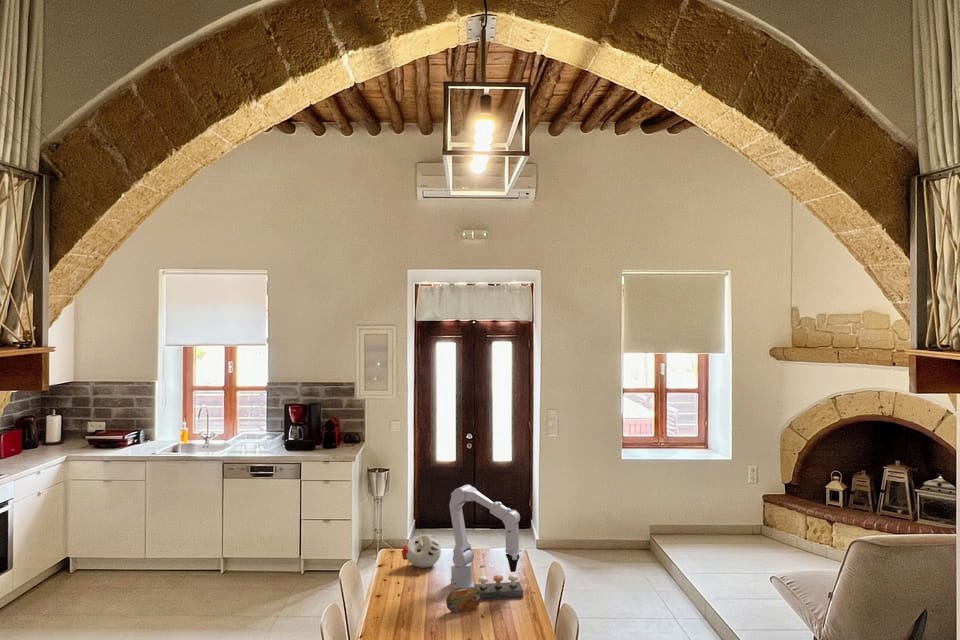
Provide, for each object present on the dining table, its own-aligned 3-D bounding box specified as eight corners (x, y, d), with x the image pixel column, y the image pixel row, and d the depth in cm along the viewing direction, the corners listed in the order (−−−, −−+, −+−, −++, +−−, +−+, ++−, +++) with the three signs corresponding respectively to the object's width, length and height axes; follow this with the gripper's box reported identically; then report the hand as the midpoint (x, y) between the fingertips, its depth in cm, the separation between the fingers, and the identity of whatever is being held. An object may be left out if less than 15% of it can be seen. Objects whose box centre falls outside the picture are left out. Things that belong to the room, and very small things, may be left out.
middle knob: (494, 588, 280) (494, 578, 280) (493, 585, 284) (493, 575, 284) (503, 588, 280) (503, 578, 280) (502, 584, 284) (502, 574, 284)
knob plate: (476, 600, 276) (476, 593, 276) (474, 591, 286) (474, 584, 286) (523, 597, 278) (523, 590, 278) (519, 588, 288) (519, 581, 288)
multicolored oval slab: (448, 615, 262) (448, 594, 262) (445, 612, 264) (444, 591, 265) (481, 607, 269) (481, 586, 269) (478, 604, 271) (477, 584, 272)
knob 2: (509, 588, 280) (509, 577, 281) (508, 584, 284) (507, 574, 285) (518, 587, 281) (518, 577, 281) (517, 584, 285) (516, 574, 285)
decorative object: (399, 564, 323) (398, 534, 323) (435, 559, 329) (435, 529, 329) (405, 575, 308) (405, 542, 309) (444, 569, 314) (443, 538, 315)
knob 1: (479, 589, 279) (478, 579, 279) (478, 586, 283) (478, 576, 283) (488, 589, 280) (488, 579, 280) (487, 585, 284) (487, 575, 284)
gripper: (523, 544, 276) (524, 576, 276) (518, 534, 291) (519, 565, 290) (507, 545, 276) (508, 577, 275) (503, 535, 290) (503, 566, 290)
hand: (512, 571), depth 283 cm, fingers closed
